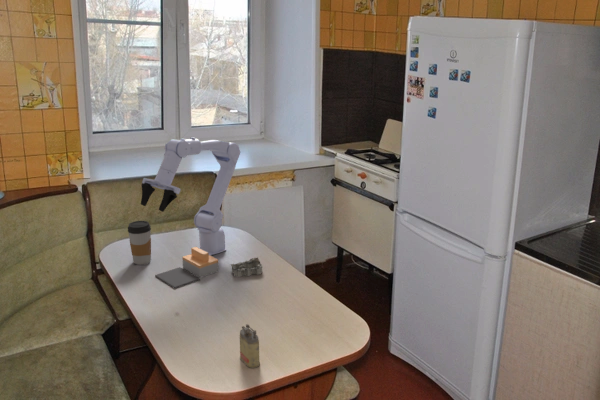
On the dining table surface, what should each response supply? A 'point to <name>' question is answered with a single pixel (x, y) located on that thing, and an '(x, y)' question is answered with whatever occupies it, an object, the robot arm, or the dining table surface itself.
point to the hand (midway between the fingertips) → (151, 208)
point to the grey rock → (241, 267)
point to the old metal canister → (249, 347)
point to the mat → (177, 277)
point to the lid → (199, 258)
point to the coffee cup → (140, 241)
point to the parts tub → (201, 269)
